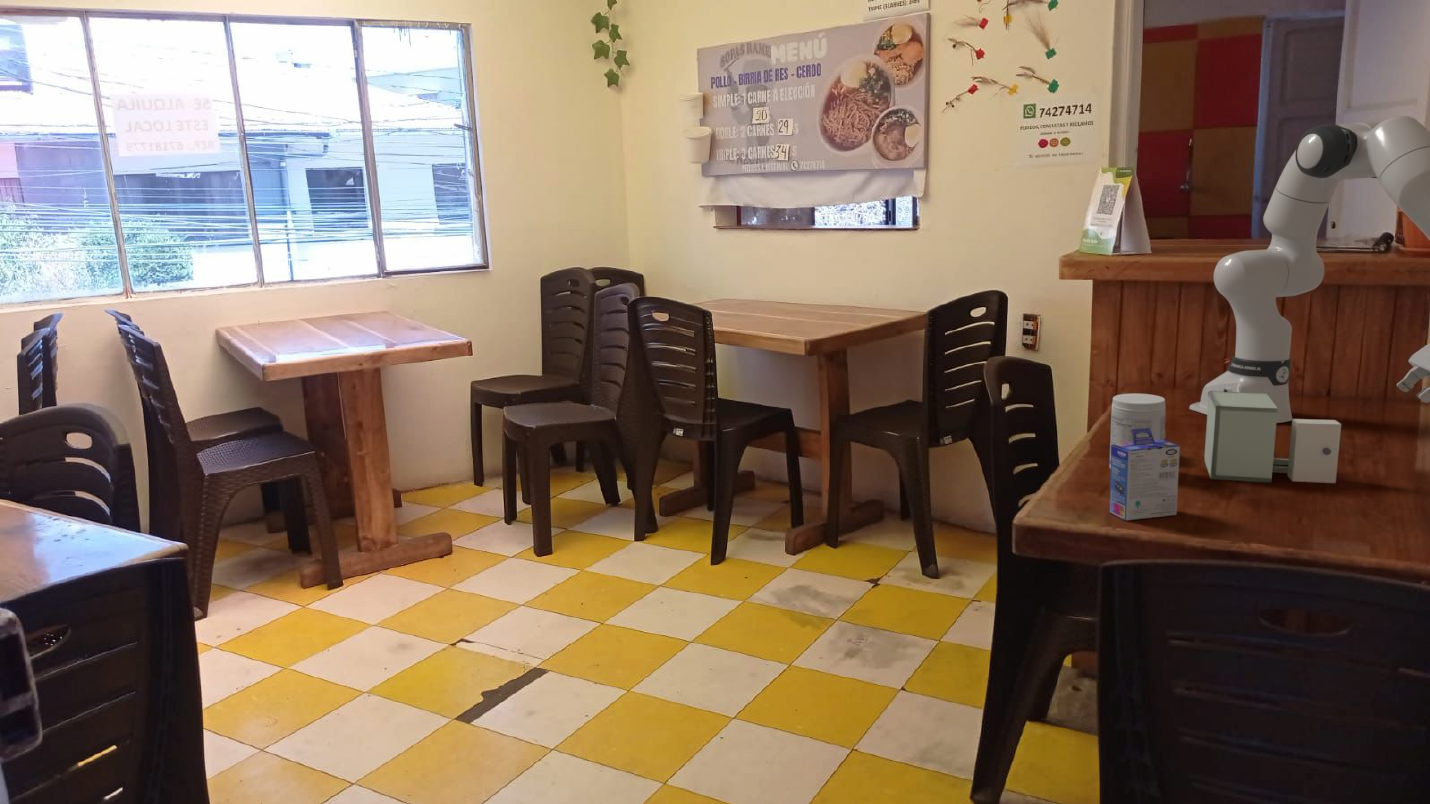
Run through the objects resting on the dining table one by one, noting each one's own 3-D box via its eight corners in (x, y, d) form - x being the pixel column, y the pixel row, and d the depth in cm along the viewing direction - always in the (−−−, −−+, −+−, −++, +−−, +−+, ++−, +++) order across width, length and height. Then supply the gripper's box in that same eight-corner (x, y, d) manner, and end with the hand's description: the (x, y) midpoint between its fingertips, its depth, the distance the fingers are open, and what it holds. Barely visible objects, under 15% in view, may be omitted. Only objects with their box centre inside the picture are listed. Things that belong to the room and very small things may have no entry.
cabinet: (1309, 464, 191) (1316, 394, 188) (1324, 486, 178) (1332, 410, 175) (1203, 458, 198) (1208, 390, 195) (1210, 478, 184) (1216, 405, 182)
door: (1329, 477, 183) (1335, 420, 180) (1336, 483, 179) (1342, 425, 177) (1287, 476, 185) (1292, 418, 182) (1293, 482, 181) (1298, 423, 179)
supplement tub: (1133, 463, 197) (1137, 390, 194) (1173, 474, 188) (1178, 398, 185) (1097, 470, 193) (1101, 396, 190) (1137, 481, 184) (1141, 405, 181)
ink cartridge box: (1157, 506, 170) (1162, 424, 167) (1178, 516, 165) (1184, 432, 162) (1106, 511, 168) (1110, 429, 165) (1125, 521, 163) (1130, 437, 160)
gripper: (1443, 319, 180) (1376, 371, 185) (1495, 335, 161) (1419, 392, 165) (1469, 343, 180) (1401, 395, 184) (1524, 362, 160) (1447, 419, 165)
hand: (1410, 394), depth 175 cm, fingers open, 8 cm apart
